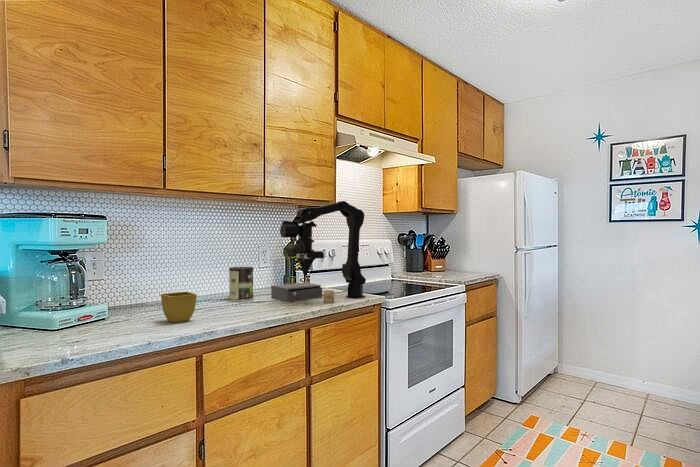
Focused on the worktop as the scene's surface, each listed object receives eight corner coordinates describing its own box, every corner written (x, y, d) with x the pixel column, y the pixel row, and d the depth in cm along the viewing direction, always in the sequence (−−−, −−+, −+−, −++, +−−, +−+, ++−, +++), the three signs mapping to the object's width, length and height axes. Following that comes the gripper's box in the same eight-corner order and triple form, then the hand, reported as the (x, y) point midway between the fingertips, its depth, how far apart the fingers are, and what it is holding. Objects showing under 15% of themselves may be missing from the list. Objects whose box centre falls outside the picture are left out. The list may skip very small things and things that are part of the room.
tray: (306, 293, 189) (306, 285, 189) (322, 296, 180) (322, 287, 180) (273, 297, 177) (273, 288, 177) (289, 300, 168) (289, 291, 168)
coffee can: (256, 297, 179) (256, 266, 179) (249, 301, 169) (249, 268, 169) (233, 297, 179) (233, 266, 179) (225, 301, 169) (225, 268, 169)
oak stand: (329, 301, 170) (329, 289, 170) (336, 302, 167) (336, 291, 167) (321, 302, 167) (321, 290, 167) (328, 303, 164) (328, 292, 164)
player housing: (304, 293, 190) (304, 282, 190) (322, 297, 180) (322, 285, 180) (271, 298, 178) (271, 285, 178) (288, 302, 168) (288, 289, 168)
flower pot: (186, 317, 138) (186, 291, 138) (197, 320, 132) (197, 293, 132) (160, 320, 132) (160, 293, 132) (170, 325, 126) (170, 296, 126)
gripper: (276, 237, 169) (276, 274, 169) (302, 237, 155) (302, 277, 155) (298, 237, 177) (298, 272, 177) (324, 237, 163) (324, 276, 163)
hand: (305, 274), depth 168 cm, fingers closed
